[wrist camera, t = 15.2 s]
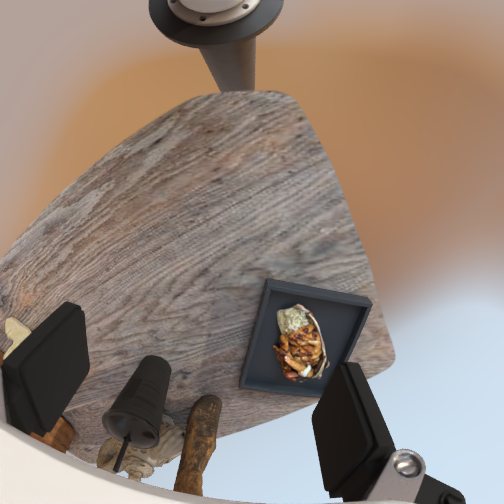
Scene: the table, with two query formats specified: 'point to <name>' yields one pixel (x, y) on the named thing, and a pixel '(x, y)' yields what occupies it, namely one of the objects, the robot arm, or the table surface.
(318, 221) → the table surface
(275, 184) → the table surface
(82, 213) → the table surface
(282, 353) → the taco
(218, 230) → the table surface
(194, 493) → the sculpture
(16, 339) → the cheese
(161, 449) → the teapot
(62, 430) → the bread
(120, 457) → the drinking cup
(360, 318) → the serving tray
